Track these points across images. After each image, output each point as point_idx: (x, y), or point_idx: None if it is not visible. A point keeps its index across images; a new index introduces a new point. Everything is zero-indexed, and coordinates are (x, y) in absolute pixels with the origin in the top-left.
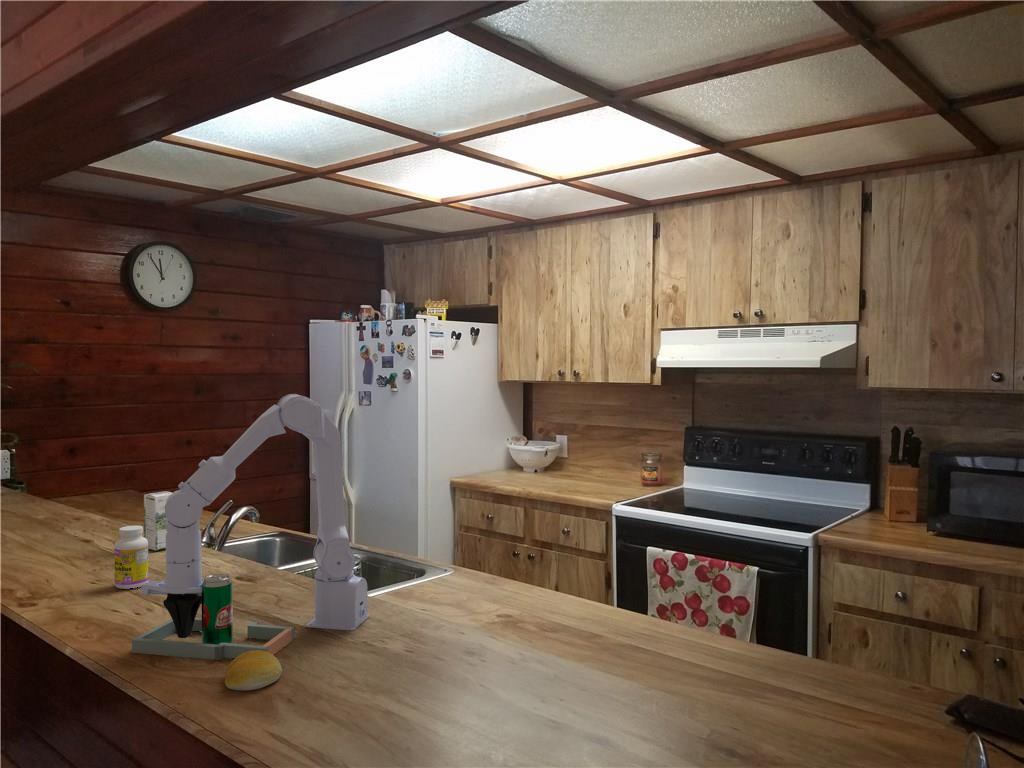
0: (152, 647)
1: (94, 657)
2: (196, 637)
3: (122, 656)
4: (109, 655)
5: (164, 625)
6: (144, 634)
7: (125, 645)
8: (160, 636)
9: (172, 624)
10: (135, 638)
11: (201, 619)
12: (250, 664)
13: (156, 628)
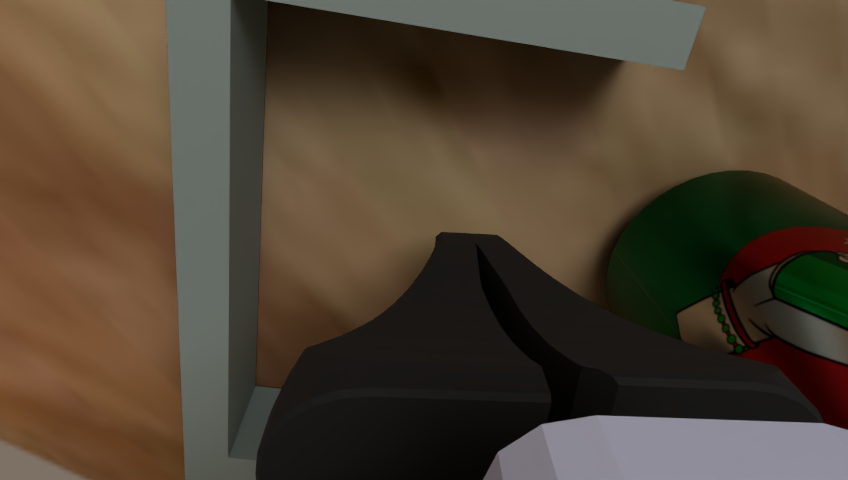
0: None
1: (33, 449)
2: (489, 117)
3: (182, 430)
4: (94, 424)
5: (227, 219)
6: (200, 401)
7: (57, 289)
8: (250, 239)
9: (240, 99)
10: (193, 465)
11: (517, 28)
12: None
13: (206, 290)
